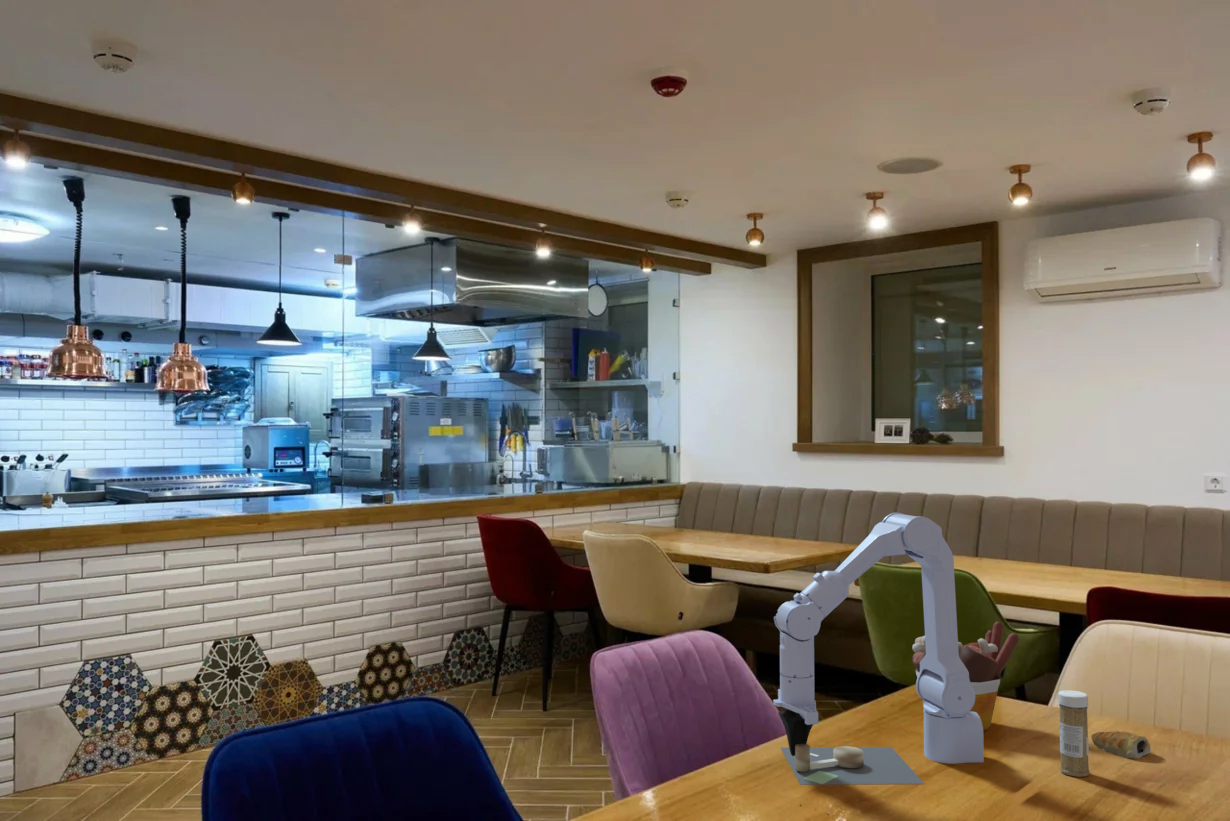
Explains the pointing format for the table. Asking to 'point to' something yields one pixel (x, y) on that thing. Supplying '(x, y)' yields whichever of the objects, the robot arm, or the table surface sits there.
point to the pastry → (1122, 743)
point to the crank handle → (841, 757)
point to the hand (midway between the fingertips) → (797, 755)
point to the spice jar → (1074, 733)
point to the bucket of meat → (980, 667)
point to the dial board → (877, 768)
